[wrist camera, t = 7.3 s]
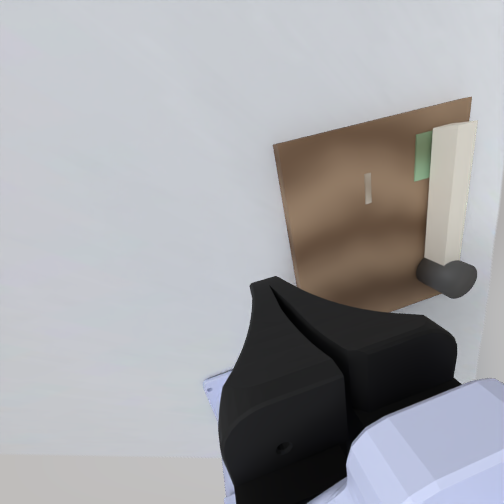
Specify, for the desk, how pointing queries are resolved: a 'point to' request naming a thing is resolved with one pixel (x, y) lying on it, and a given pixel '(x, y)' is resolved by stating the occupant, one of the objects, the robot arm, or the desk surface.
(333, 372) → the robot arm
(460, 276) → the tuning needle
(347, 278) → the board
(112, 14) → the desk surface
